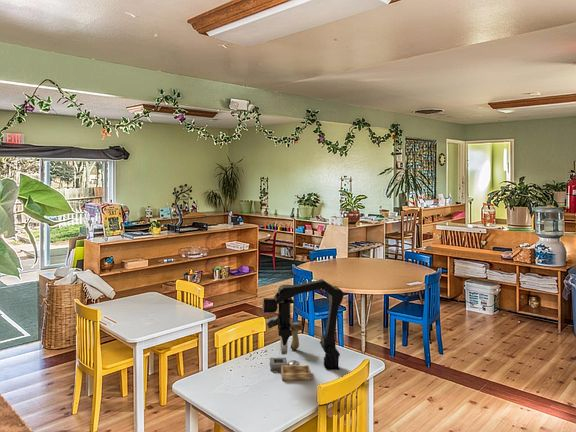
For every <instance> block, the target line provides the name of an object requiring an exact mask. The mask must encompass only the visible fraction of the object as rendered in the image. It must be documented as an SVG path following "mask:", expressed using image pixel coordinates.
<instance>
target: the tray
mask: <svg viewBox="0 0 576 432" xmlns="http://www.w3.org/2000/svg"><path fill="white" fill-rule="evenodd" d="M280 375H281V381H283V382H284V381H288V382H291V381H294V382H295V381H312V371H311V369H310V365H309V364H306V365H305V364H304V365H303V364H301V365H296V366H281V371H280Z"/></svg>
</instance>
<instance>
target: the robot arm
mask: <svg viewBox="0 0 576 432" xmlns="http://www.w3.org/2000/svg"><path fill="white" fill-rule="evenodd" d="M319 290H323V291H324V292H326V293H327V294H328V300H329V301H328V302H329V306H328V313H327V314H328V316H327V319H326V320H327V321H326V329H325V333H324V335H323V334H321V335H320V342H319V344H320V346H321V348H322V350H323V351H324V356H323V367H324V368H325V370H328V371H330V370H340V366H339V358H340V356H341V354H340V351H338V349H337V347H336V337H335V335H336V326H337V320H338V315H339V307H340V306H341V304H342V303H343V299H344V292H343V290H341V289H340V287H338V286H336V285H334V286H333V285H332V284H330V283H328V281H325V280H324V279H323V278H322V279H317V280H313V281H309V282H304V283H299V284H282V285H280V286H278V289H277V292H276V294H275V295H274V296H273V298H272V297H271V298H266V297H265V298H263V301H262V313H263V314H273V313H276V312H277V311H278V312H277V315H276V316H273V317H270V318H267V319H266V320H265V321H266V325H267V327H268V329H272V328H274V327H276V326H277V329H278V331H277V333H278V336H279V337H281V336H282V342H283V345H286V343H287V341H289V338H290V337H292V329H291V328H290V326H291V317H292V316H291V304H295V303H296V302H295V300H294V299H293V298H294V297H295V296H298V295H300V294H305V293H309V292H314V291H319Z"/></svg>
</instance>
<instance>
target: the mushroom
mask: <svg viewBox="0 0 576 432" xmlns="http://www.w3.org/2000/svg"><path fill="white" fill-rule="evenodd" d="M290 324H291V326H290V328H291V329H292V336H291V337H292V338H291V339H292V341H291V343H290V349H291V350H292V351H297V349H298V348H299V346H300V341H299V332H300V331H302V330H303V329H304V326H303V324H302V323H300V322H290Z"/></svg>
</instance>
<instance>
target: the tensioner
mask: <svg viewBox="0 0 576 432" xmlns="http://www.w3.org/2000/svg"><path fill="white" fill-rule="evenodd" d="M296 365H300V361H298V360H292V359H291V360H289V361H288V360H287V357H269V368H270V369H269V370H270V372H272V371H273V372H274V371H280V372H281V366H296Z"/></svg>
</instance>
